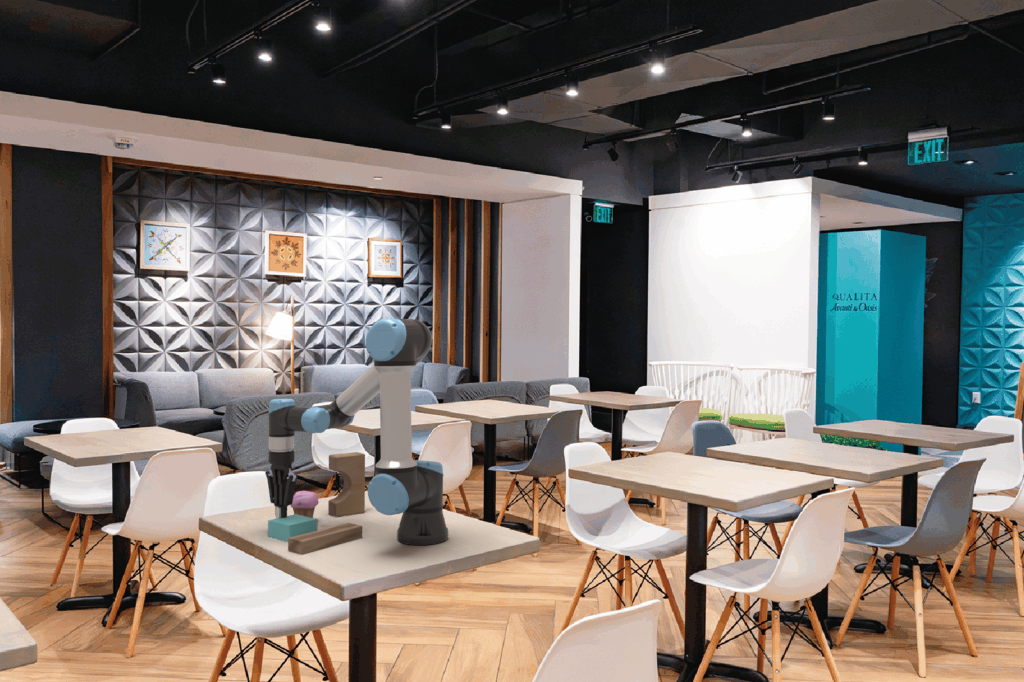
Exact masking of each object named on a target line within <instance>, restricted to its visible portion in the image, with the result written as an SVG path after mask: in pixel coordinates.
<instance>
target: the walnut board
mask: <svg viewBox="0 0 1024 682" xmlns="http://www.w3.org/2000/svg"><path fill="white" fill-rule="evenodd" d="M362 538H363V525H360V524H355V523H352V522H351V523H350V522H346V523H343V524H338V525H335V526H331V527H326V528H322V529H319V530H318V529H317V531H314V532H310V533H306V534H302V535H298V536H295V537H291V538H288V542H287V551H288V550H289V551H288V552H291V551H292V553H296V554H299V555H305V554H309V553H312V552H315V551H319V550H322V549H327V548H331V547H334V546H337V545H342V544H345V543H347V542H351V541H355V540H359V539H362Z"/></svg>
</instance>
